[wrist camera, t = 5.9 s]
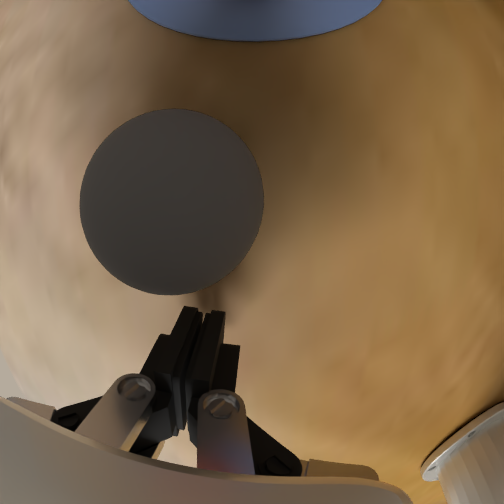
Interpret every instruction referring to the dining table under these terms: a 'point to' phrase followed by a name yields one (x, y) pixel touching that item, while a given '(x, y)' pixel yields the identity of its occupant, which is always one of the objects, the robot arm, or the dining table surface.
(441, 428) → the dining table surface
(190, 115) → the dark grey ball
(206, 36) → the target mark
